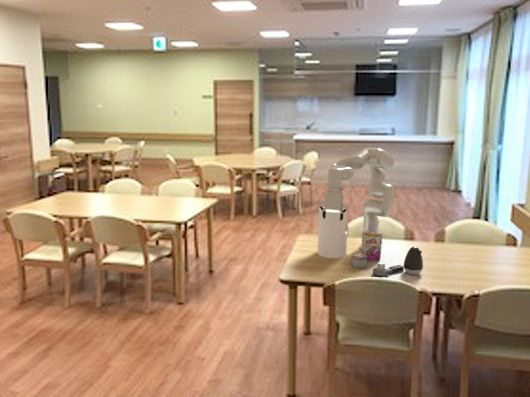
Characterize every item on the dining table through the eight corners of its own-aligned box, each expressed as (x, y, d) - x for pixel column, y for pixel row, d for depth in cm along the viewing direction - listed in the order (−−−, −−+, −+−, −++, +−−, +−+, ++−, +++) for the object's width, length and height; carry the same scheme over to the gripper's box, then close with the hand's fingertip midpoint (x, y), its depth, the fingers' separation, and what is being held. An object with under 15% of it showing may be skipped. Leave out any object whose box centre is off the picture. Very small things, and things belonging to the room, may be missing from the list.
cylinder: (337, 260, 294) (339, 214, 289) (312, 254, 305) (313, 209, 299) (351, 253, 308) (353, 208, 302) (326, 247, 318) (328, 204, 312)
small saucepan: (395, 267, 283) (396, 256, 282) (406, 272, 277) (407, 260, 275) (369, 274, 272) (370, 262, 271) (380, 279, 266) (381, 266, 264)
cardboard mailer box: (359, 264, 288) (360, 252, 286) (366, 267, 283) (367, 255, 282) (352, 266, 285) (352, 254, 283) (359, 269, 280) (359, 257, 279)
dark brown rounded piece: (411, 277, 268) (413, 250, 265) (399, 271, 278) (401, 245, 275) (426, 275, 272) (429, 248, 269) (413, 269, 282) (416, 243, 279)
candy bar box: (360, 259, 297) (362, 232, 293) (361, 256, 301) (363, 230, 298) (379, 261, 293) (381, 234, 290) (380, 259, 298) (382, 232, 294)
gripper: (350, 189, 281) (349, 219, 285) (320, 187, 287) (319, 216, 291) (348, 192, 274) (346, 222, 278) (317, 189, 280) (316, 219, 284)
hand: (332, 219), depth 284 cm, fingers open, 9 cm apart
